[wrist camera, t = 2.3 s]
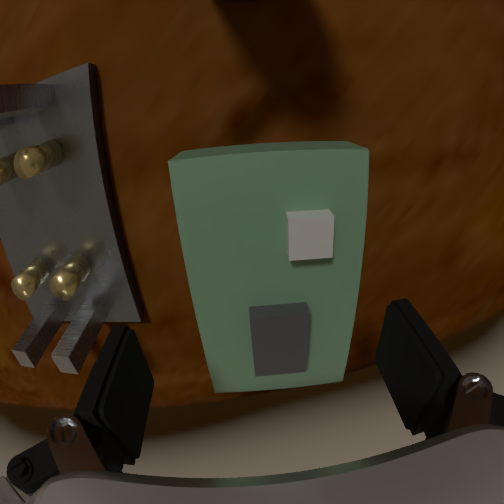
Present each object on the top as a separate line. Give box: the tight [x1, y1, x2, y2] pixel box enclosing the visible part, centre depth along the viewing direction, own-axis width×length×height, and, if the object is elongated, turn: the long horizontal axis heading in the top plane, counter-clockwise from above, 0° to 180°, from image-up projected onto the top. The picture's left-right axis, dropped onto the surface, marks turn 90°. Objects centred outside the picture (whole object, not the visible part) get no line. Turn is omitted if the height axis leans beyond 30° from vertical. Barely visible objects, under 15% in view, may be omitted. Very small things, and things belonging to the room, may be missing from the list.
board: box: [168, 141, 369, 393], centre depth 13 cm, size 7×12×3 cm, turn 4°
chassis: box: [0, 63, 144, 374], centre depth 15 cm, size 11×18×7 cm, turn 4°
